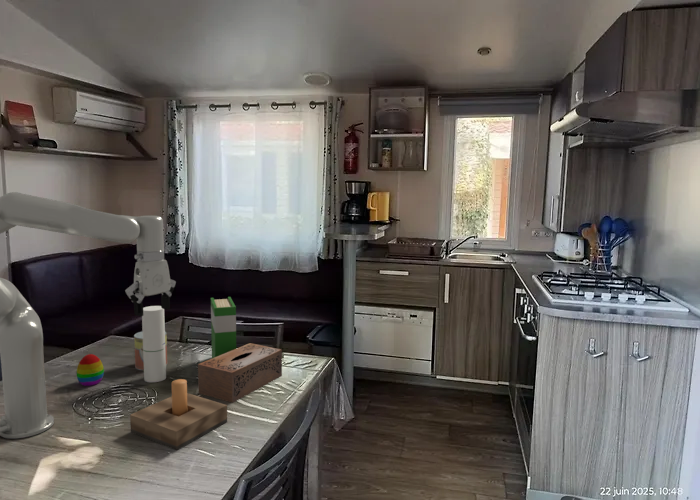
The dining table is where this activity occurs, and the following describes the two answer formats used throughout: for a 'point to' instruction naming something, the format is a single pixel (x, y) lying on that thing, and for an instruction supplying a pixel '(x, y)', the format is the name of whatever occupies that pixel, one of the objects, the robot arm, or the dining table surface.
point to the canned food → (139, 350)
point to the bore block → (178, 421)
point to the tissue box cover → (239, 372)
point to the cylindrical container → (154, 344)
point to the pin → (179, 397)
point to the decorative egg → (90, 370)
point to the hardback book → (223, 326)
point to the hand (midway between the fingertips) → (152, 312)
